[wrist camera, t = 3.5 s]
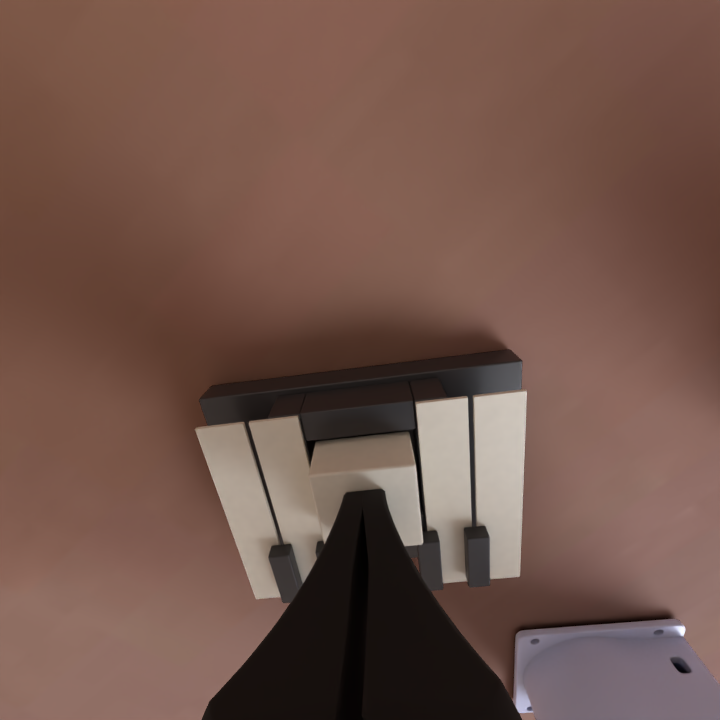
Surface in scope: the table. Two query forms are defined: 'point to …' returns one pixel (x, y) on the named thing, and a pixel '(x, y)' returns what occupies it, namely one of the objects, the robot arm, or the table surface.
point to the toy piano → (365, 403)
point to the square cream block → (368, 479)
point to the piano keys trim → (440, 485)
